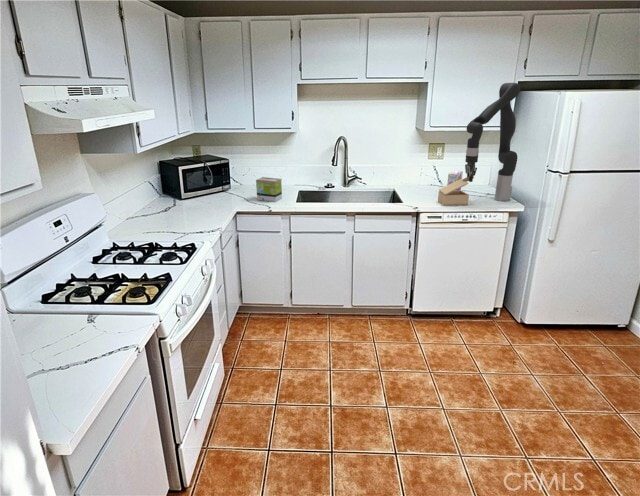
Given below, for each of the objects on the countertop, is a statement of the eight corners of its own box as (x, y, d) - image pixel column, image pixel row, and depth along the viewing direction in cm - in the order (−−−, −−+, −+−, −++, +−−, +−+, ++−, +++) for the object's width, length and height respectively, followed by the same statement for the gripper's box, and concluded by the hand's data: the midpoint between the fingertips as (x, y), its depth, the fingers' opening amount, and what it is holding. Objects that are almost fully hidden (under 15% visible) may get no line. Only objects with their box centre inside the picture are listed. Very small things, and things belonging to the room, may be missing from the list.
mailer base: (460, 200, 281) (461, 190, 279) (467, 205, 270) (468, 194, 268) (437, 201, 280) (438, 191, 278) (443, 205, 269) (445, 195, 267)
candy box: (453, 197, 289) (456, 174, 283) (445, 196, 293) (448, 173, 287) (460, 193, 300) (463, 171, 294) (452, 192, 303) (455, 170, 297)
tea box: (256, 200, 286) (255, 179, 281) (263, 197, 295) (262, 176, 289) (275, 202, 281) (274, 181, 276) (282, 198, 290) (281, 178, 284)
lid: (469, 175, 275) (468, 173, 275) (477, 179, 264) (476, 177, 264) (439, 190, 278) (438, 188, 277) (445, 195, 267) (444, 192, 266)
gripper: (482, 156, 258) (479, 183, 264) (473, 152, 271) (470, 178, 277) (470, 156, 257) (468, 183, 264) (462, 153, 270) (459, 179, 277)
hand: (469, 181), depth 270 cm, fingers closed on lid, 3 cm apart
